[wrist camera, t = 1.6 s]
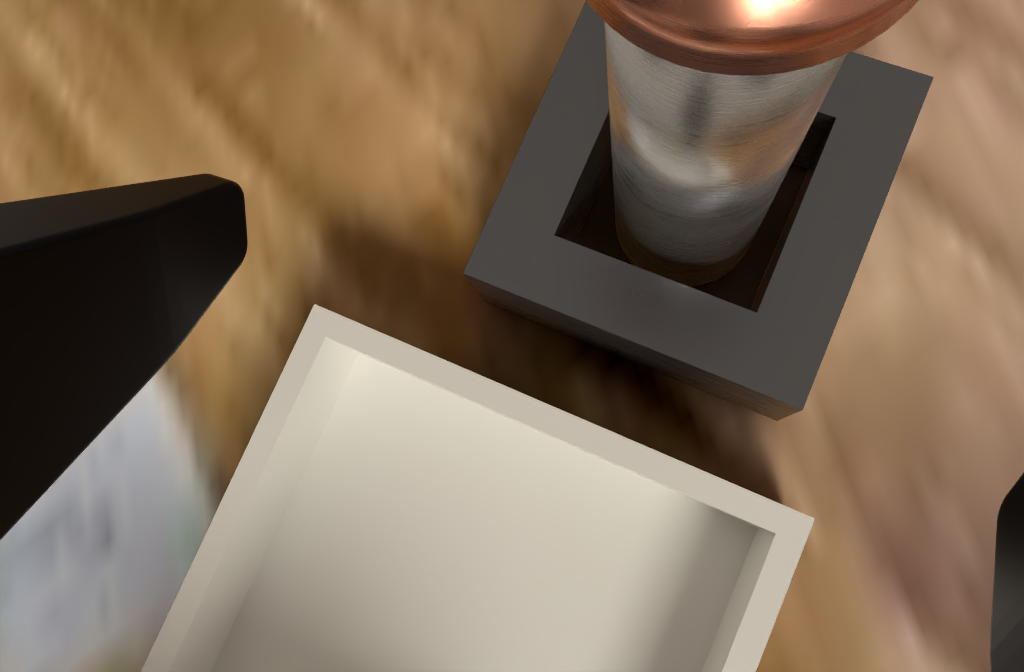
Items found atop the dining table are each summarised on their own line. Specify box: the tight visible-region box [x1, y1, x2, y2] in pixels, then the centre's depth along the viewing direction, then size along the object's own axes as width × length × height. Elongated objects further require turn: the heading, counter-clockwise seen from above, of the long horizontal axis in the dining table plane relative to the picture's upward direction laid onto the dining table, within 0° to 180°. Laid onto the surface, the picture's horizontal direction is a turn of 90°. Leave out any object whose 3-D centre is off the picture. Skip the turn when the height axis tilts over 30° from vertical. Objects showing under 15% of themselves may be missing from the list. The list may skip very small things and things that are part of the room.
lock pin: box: [587, 0, 918, 286], centre depth 15 cm, size 5×5×13 cm
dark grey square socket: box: [463, 0, 933, 421], centre depth 20 cm, size 8×8×3 cm
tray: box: [141, 304, 815, 672], centre depth 19 cm, size 10×12×3 cm
